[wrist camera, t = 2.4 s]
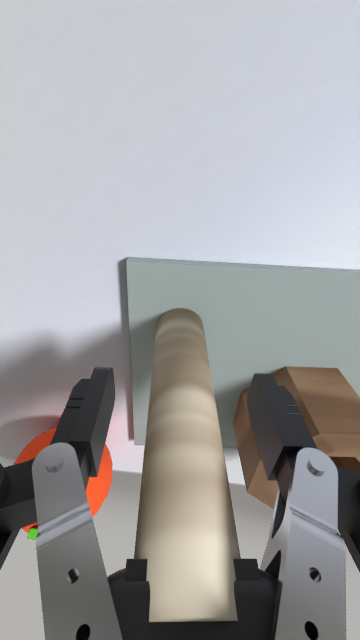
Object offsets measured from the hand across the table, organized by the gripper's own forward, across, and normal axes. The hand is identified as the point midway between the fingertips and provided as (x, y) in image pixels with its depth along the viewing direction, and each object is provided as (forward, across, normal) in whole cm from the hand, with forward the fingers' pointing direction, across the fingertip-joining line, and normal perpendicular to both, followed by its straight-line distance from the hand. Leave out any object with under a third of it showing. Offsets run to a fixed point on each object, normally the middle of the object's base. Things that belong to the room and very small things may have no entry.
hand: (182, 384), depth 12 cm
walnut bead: (+4, -9, +7) cm, 12 cm away
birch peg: (+4, 0, 0) cm, 4 cm away
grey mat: (+5, -6, +4) cm, 9 cm away
